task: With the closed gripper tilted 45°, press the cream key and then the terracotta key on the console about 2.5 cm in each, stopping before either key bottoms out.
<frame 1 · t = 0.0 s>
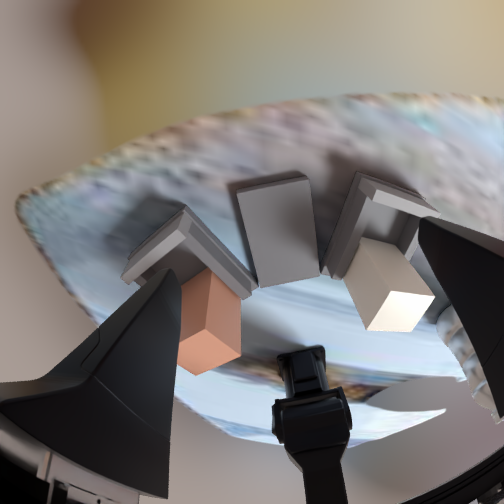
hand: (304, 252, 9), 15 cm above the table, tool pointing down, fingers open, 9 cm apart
terracotta key: (203, 318, 23), point 5 cm above the table, slide at 0.0 cm
cream key: (383, 282, 22), point 5 cm above the table, slide at 0.0 cm
plastic bottle: (448, 311, 34), on the table
key console: (290, 283, 29), on the table
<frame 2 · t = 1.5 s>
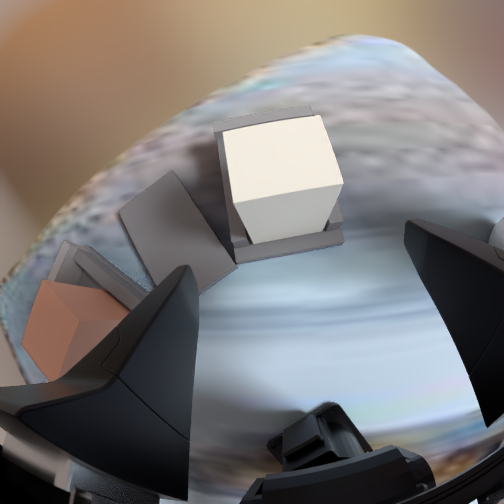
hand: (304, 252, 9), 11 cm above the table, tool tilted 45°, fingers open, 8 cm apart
terracotta key: (86, 332, 16), point 5 cm above the table, slide at 0.0 cm
cream key: (281, 189, 16), point 5 cm above the table, slide at 0.0 cm
plastic bottle: (499, 254, 18), on the table
key console: (213, 300, 21), on the table
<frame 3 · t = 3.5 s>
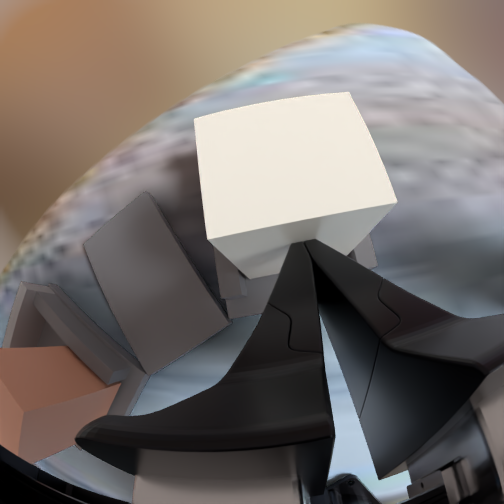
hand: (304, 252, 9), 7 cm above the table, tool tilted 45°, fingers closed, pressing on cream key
terracotta key: (47, 401, 10), point 5 cm above the table, slide at 0.0 cm
cream key: (289, 205, 11), point 5 cm above the table, slide at 0.9 cm, touching gripper
key console: (201, 364, 15), on the table
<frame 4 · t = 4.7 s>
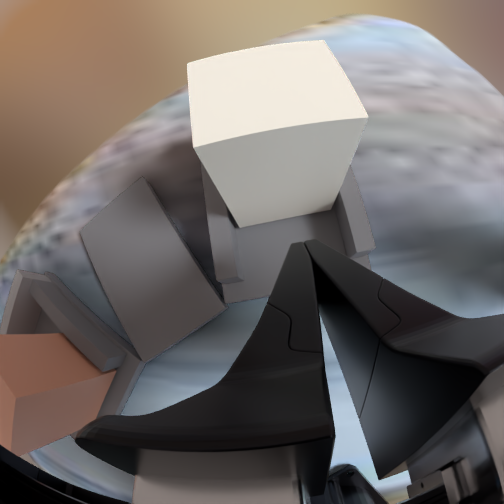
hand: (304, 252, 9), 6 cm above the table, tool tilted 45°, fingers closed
terracotta key: (42, 389, 10), point 5 cm above the table, slide at 0.0 cm
cream key: (274, 146, 11), point 5 cm above the table, slide at 2.8 cm
key console: (197, 350, 15), on the table
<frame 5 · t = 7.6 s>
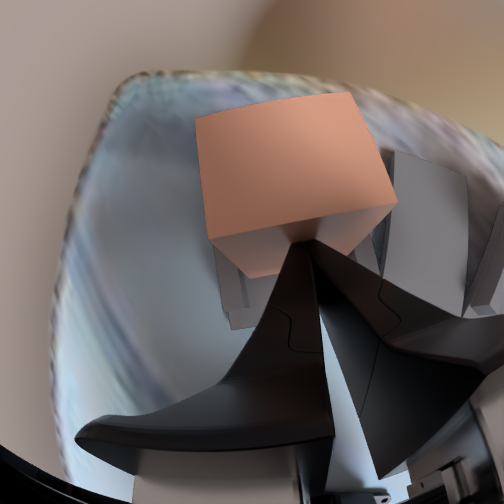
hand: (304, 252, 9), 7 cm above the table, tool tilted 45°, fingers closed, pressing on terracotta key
terracotta key: (289, 205, 11), point 5 cm above the table, slide at 1.5 cm, touching gripper
key console: (412, 330, 14), on the table
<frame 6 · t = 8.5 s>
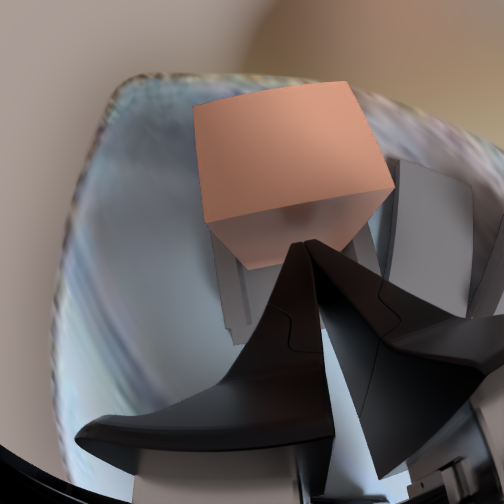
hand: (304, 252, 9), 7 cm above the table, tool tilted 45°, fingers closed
terracotta key: (287, 194, 11), point 5 cm above the table, slide at 2.8 cm
key console: (414, 343, 14), on the table
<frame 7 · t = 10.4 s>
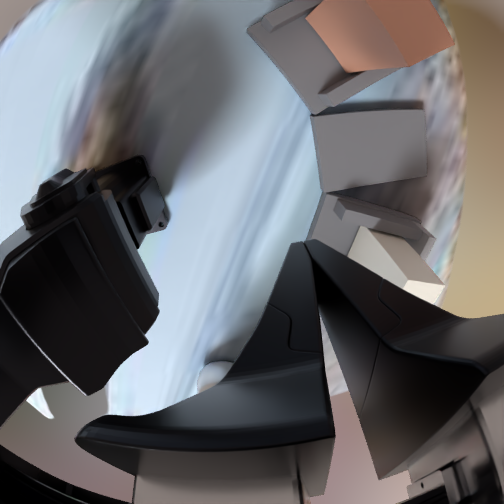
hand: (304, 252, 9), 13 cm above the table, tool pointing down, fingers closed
terracotta key: (372, 23, 10), point 5 cm above the table, slide at 2.8 cm
cream key: (388, 277, 20), point 5 cm above the table, slide at 2.8 cm
plastic bottle: (223, 368, 34), on the table
key console: (303, 155, 20), on the table
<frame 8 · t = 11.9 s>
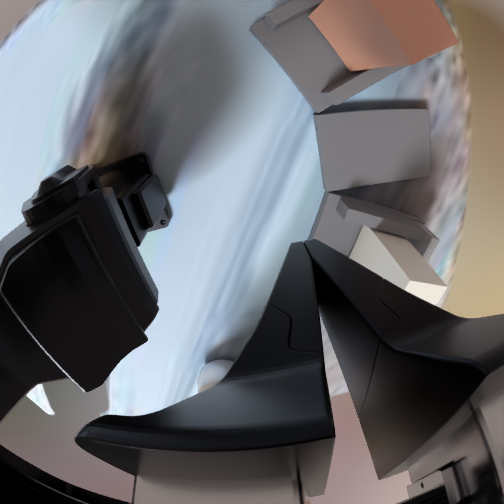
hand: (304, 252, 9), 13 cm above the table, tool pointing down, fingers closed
terracotta key: (375, 21, 10), point 5 cm above the table, slide at 2.8 cm
cream key: (390, 277, 20), point 5 cm above the table, slide at 2.8 cm
plastic bottle: (224, 366, 34), on the table
key console: (306, 154, 20), on the table
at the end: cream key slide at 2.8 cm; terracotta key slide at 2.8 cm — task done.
